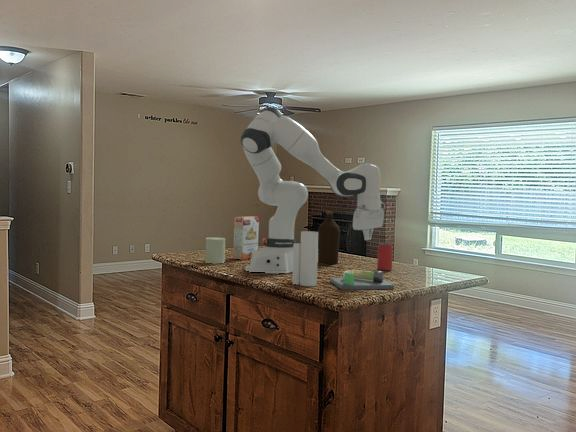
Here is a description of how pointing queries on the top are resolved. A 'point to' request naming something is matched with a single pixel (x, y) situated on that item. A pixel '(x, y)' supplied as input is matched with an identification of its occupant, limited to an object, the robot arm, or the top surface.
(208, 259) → the can
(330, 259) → the olive oil
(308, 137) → the robot arm
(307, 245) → the candle
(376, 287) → the gauge board
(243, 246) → the cracker box
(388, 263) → the beer can
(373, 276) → the spice jar
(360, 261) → the top surface
